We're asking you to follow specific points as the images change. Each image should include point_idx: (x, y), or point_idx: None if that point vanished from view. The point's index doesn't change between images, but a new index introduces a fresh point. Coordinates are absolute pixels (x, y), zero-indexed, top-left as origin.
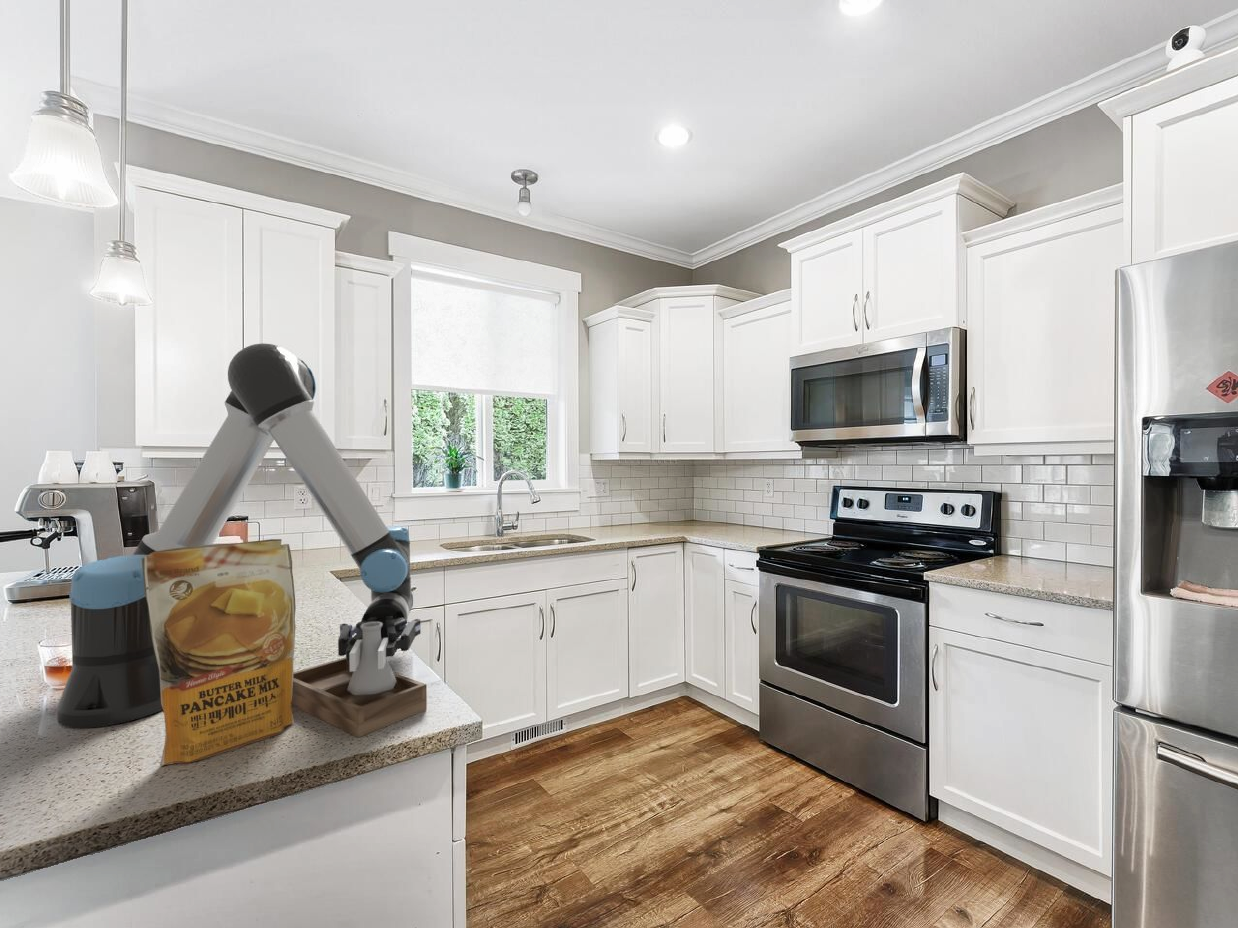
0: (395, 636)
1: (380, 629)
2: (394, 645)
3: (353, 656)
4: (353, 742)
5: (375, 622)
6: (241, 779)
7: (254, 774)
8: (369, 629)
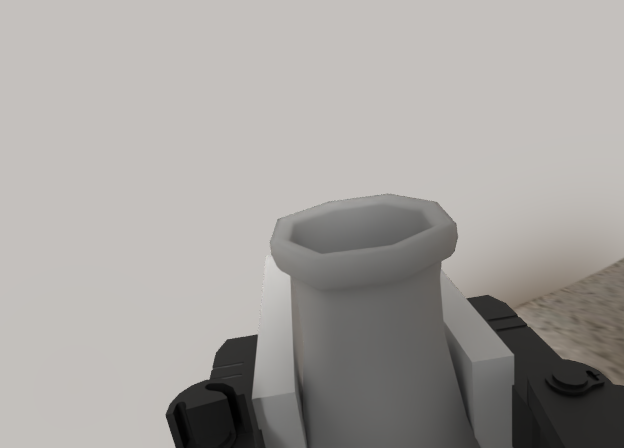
0: (188, 425)
1: (295, 285)
2: (214, 365)
3: None
4: None
5: (342, 251)
6: (541, 315)
7: (531, 326)
8: (352, 214)
